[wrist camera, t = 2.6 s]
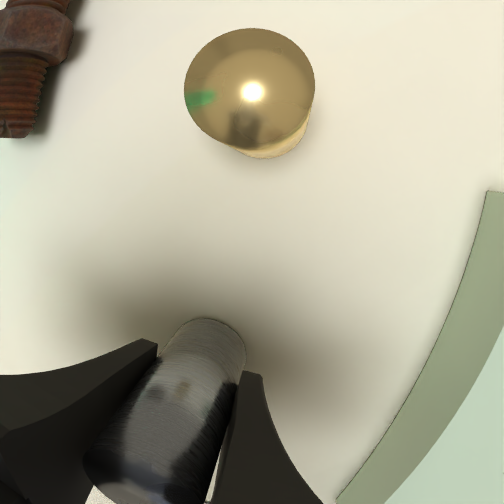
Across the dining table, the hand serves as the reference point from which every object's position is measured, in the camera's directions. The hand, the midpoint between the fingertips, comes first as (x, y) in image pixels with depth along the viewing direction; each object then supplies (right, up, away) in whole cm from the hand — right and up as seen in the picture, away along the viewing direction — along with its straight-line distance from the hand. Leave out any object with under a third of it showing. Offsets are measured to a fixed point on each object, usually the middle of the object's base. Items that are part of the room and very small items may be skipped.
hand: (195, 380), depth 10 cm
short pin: (+2, +9, 0) cm, 9 cm away
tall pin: (0, 0, +2) cm, 2 cm away
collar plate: (+18, -4, +1) cm, 18 cm away
